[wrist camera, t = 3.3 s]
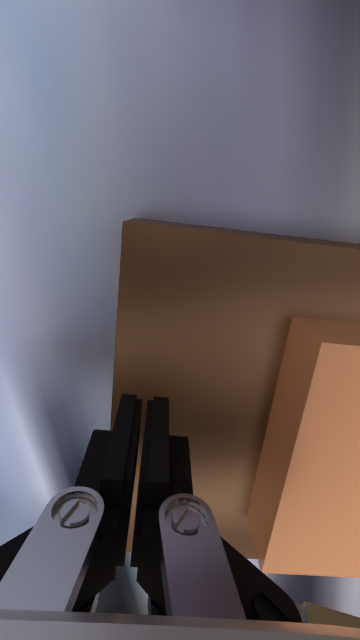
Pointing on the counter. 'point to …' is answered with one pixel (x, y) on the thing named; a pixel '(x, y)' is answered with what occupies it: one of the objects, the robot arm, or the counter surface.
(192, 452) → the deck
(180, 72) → the counter surface
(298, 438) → the tile
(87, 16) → the counter surface
